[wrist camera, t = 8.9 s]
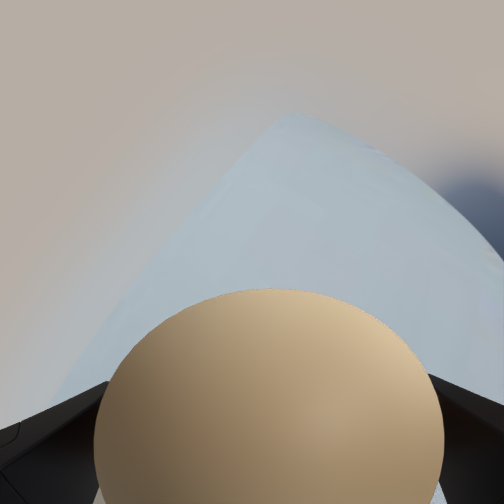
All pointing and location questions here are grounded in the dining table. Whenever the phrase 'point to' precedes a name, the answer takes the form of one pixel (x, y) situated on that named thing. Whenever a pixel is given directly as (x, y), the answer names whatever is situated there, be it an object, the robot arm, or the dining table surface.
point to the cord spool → (269, 408)
